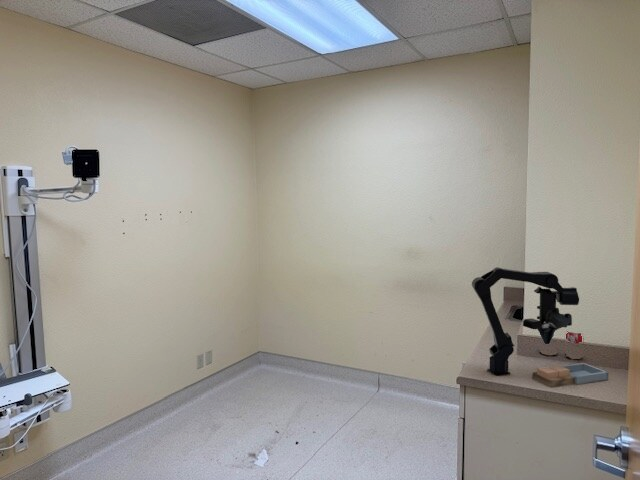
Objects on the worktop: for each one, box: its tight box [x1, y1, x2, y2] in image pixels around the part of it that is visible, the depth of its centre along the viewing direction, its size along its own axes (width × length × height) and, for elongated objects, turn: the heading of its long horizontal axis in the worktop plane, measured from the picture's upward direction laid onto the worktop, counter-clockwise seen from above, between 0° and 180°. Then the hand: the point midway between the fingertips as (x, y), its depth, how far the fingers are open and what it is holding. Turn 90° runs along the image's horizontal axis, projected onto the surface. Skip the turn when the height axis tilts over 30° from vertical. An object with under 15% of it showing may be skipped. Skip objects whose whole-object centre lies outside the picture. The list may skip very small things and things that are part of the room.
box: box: [561, 362, 609, 386], centre depth 171 cm, size 15×11×3 cm
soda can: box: [565, 330, 582, 344], centre depth 192 cm, size 7×7×12 cm
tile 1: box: [536, 366, 558, 379], centre depth 166 cm, size 5×5×2 cm
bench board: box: [532, 371, 576, 388], centre depth 167 cm, size 11×9×2 cm
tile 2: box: [548, 365, 570, 377], centre depth 168 cm, size 5×5×2 cm
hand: (546, 343), depth 173 cm, fingers closed
